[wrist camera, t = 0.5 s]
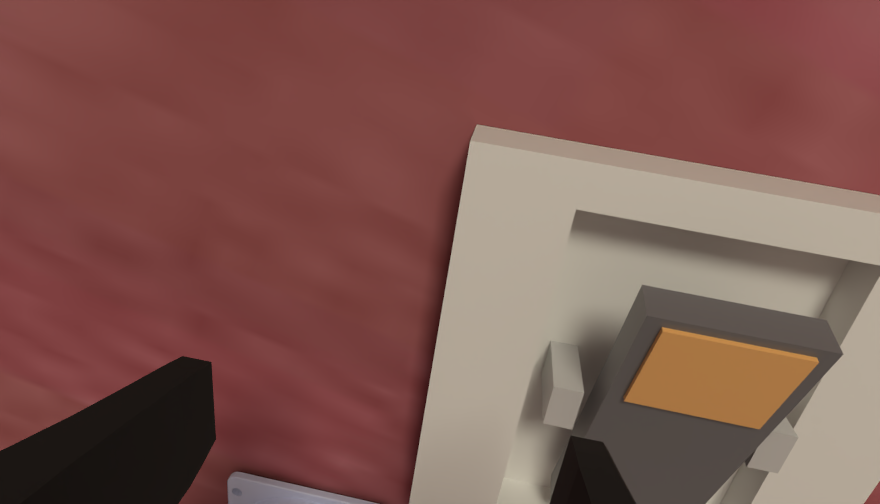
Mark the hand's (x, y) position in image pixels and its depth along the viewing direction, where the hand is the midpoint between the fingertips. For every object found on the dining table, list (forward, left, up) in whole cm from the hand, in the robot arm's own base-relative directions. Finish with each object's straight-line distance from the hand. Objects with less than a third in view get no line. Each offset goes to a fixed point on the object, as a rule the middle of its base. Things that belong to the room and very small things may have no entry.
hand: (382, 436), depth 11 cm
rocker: (-4, -8, -8) cm, 12 cm away
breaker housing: (-4, -8, -10) cm, 14 cm away
